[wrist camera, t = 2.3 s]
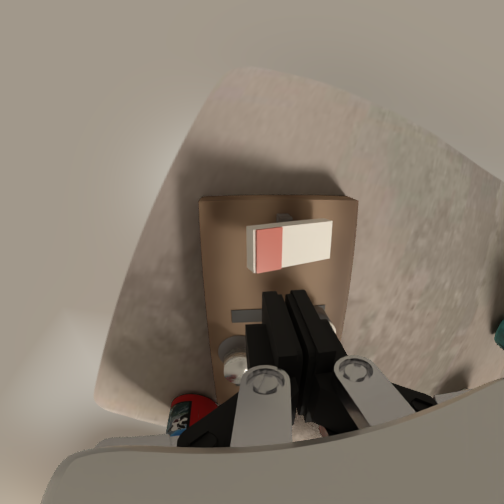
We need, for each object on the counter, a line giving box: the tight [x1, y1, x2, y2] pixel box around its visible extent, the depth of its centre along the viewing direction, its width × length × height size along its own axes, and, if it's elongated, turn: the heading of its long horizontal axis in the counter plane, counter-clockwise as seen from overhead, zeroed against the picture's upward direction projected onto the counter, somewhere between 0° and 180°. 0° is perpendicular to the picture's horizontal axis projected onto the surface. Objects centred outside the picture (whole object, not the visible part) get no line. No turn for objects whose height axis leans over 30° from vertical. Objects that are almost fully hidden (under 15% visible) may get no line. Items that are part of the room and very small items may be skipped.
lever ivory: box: [314, 306, 336, 334], centre depth 25 cm, size 3×3×4 cm
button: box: [224, 348, 247, 384], centre depth 26 cm, size 3×3×2 cm
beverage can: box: [166, 394, 218, 437], centre depth 29 cm, size 7×7×12 cm
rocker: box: [246, 218, 333, 274], centre depth 22 cm, size 7×3×1 cm, turn 90°
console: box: [198, 195, 358, 404], centre depth 28 cm, size 14×24×5 cm, turn 0°
